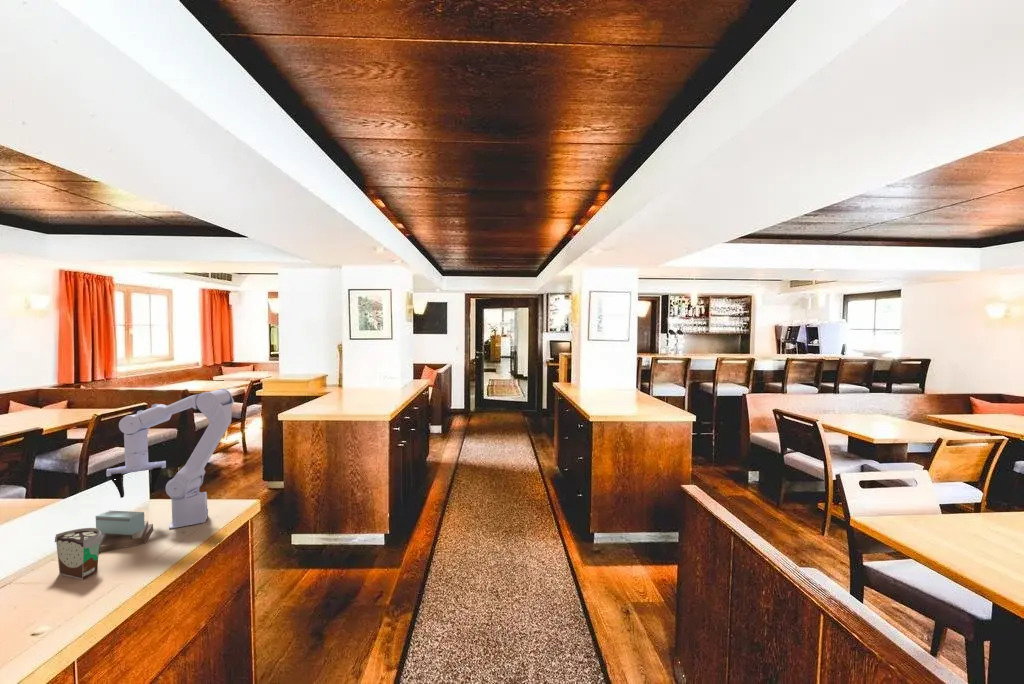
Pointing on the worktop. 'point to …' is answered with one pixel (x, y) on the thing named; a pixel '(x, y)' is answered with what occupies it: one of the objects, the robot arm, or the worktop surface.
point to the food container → (78, 552)
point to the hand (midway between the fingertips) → (138, 494)
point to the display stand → (124, 539)
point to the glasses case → (120, 522)
